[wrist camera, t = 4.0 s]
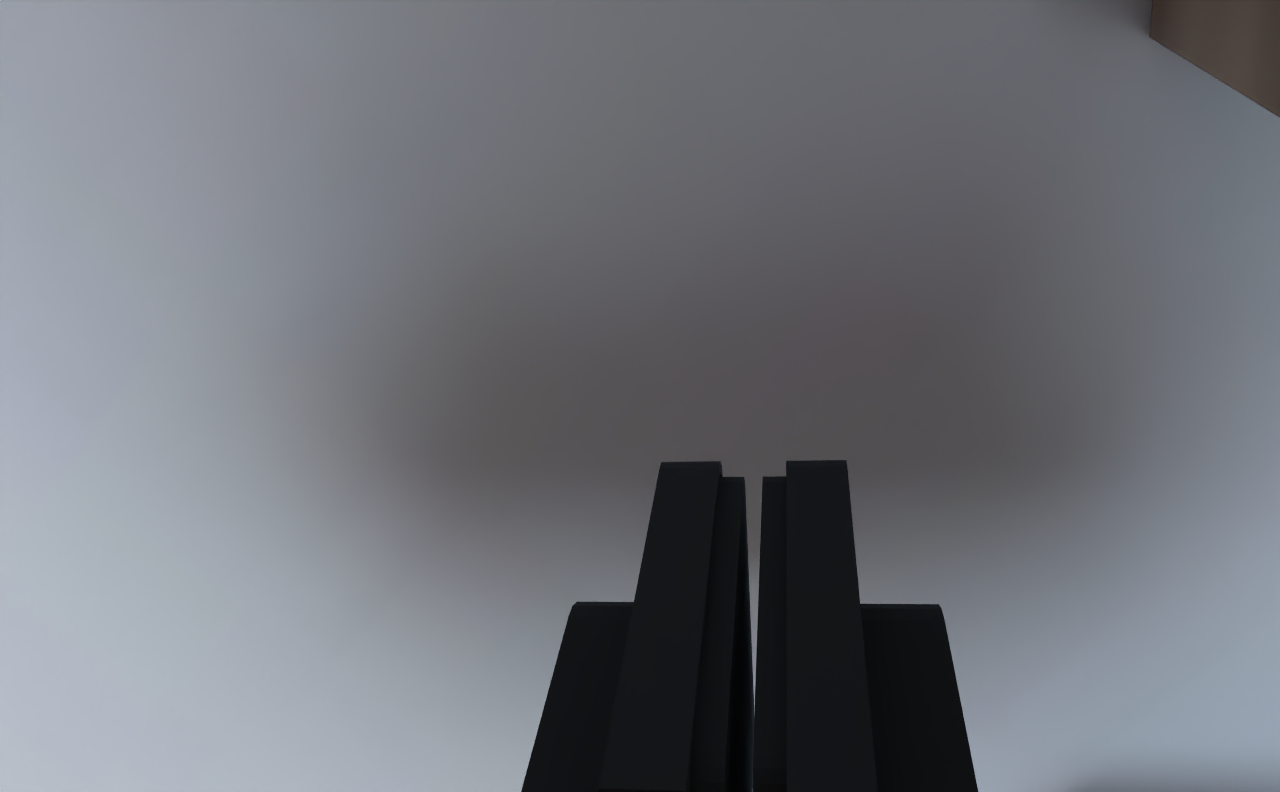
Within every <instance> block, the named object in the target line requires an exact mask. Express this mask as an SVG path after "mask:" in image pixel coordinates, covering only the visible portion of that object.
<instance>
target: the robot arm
mask: <svg viewBox="0 0 1280 792" xmlns="http://www.w3.org/2000/svg"><path fill="white" fill-rule="evenodd" d="M521 792H978V788H977V783H976V778H975V773H974V768H973V763H972V758H971V753H970V747H969V742H968V737H967V732H966V727H965V722H964V717H963V712H962V707H961V702H960V697H959V691H958V686H957V681H956V676H955V671H954V666H953V661H952V656H951V651H950V646H949V640H948V635H947V630H946V625H945V620H944V616H943V612H942V609H941V607H940V606H939V604H860V598H859V588H858V577H857V566H856V555H855V545H854V534H853V523H852V513H851V502H850V491H849V481H848V470H847V461H846V460H820V461H786V476H785V477H763V485H762V514H761V543H760V572H759V601H758V630H757V658H756V687H755V716H754V693H753V668H752V644H751V619H750V594H749V570H748V545H747V521H746V496H745V480H744V477H723V474H722V465H721V461H711V462H662V463H661V465H660V469H659V475H658V480H657V485H656V490H655V495H654V501H653V506H652V511H651V516H650V521H649V527H648V532H647V537H646V542H645V547H644V553H643V558H642V563H641V568H640V573H639V579H638V584H637V589H636V594H635V599H634V602H576V603H575V604H574V605H573V606H572V609H571V612H570V614H569V617H568V621H567V624H566V628H565V632H564V635H563V639H562V643H561V647H560V650H559V654H558V658H557V661H556V665H555V669H554V672H553V676H552V680H551V684H550V687H549V691H548V695H547V698H546V702H545V706H544V710H543V713H542V717H541V721H540V724H539V728H538V732H537V735H536V739H535V743H534V747H533V750H532V754H531V758H530V761H529V765H528V769H527V772H526V776H525V780H524V784H523V787H522V791H521Z"/></svg>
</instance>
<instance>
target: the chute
mask: <svg viewBox="0 0 1280 792" xmlns="http://www.w3.org/2000/svg"><path fill="white" fill-rule="evenodd" d="M1149 37H1150V38H1151V39H1153V40H1155V41H1156V42H1158V43H1160V44H1161V45H1163V46H1164V47H1166V48H1168V49H1169V50H1171V51H1173V52H1174V53H1176V54H1177V55H1179V56H1181V57H1182V58H1184V59H1186V60H1187V61H1189V62H1191V63H1192V64H1194V65H1195V66H1197V67H1199V68H1200V69H1202V70H1204V71H1205V72H1207V73H1208V74H1210V75H1212V76H1213V77H1215V78H1217V79H1218V80H1220V81H1221V82H1223V83H1225V84H1226V85H1228V86H1230V87H1231V88H1233V89H1234V90H1236V91H1238V92H1239V93H1241V94H1243V95H1244V96H1246V97H1247V98H1249V99H1251V100H1252V101H1254V102H1256V103H1257V104H1259V105H1260V106H1262V107H1264V108H1265V109H1267V110H1269V111H1270V112H1272V113H1273V114H1275V115H1277V116H1278V117H1280V0H1153V6H1152V16H1151V25H1150V34H1149Z"/></svg>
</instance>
